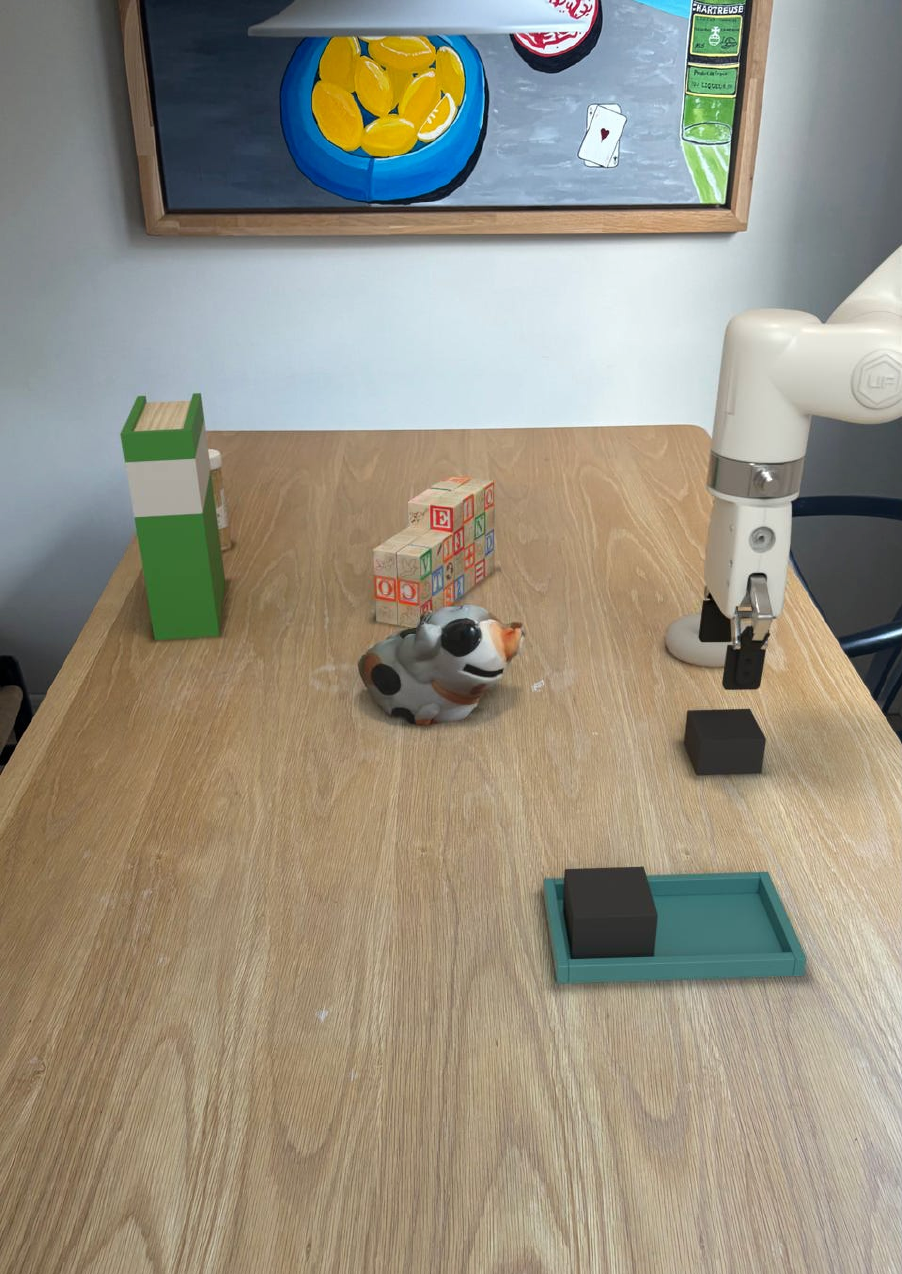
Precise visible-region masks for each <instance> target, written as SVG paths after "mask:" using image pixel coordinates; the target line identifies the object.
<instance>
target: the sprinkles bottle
mask: <svg viewBox="0 0 902 1274" xmlns="http://www.w3.org/2000/svg"><path fill="white" fill-rule="evenodd" d="M208 452H209V460H210V468H211V475H212V483H213V491H214V499H215V506H216V514H217V522H218V530H219V537H220V545H221V552H224V551H226V550H229V549H230V548H231V547H232V542H231V539H230V531H229V520H228V519H229V518H228V511H227V503H226V495H225V487H224V482H223V477H222V476H223V474H222V473H223V472H222V466H223V464H222V463H223V462H222V456H221V452H220V451H219V450H217V449H212V448H208Z"/></svg>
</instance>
